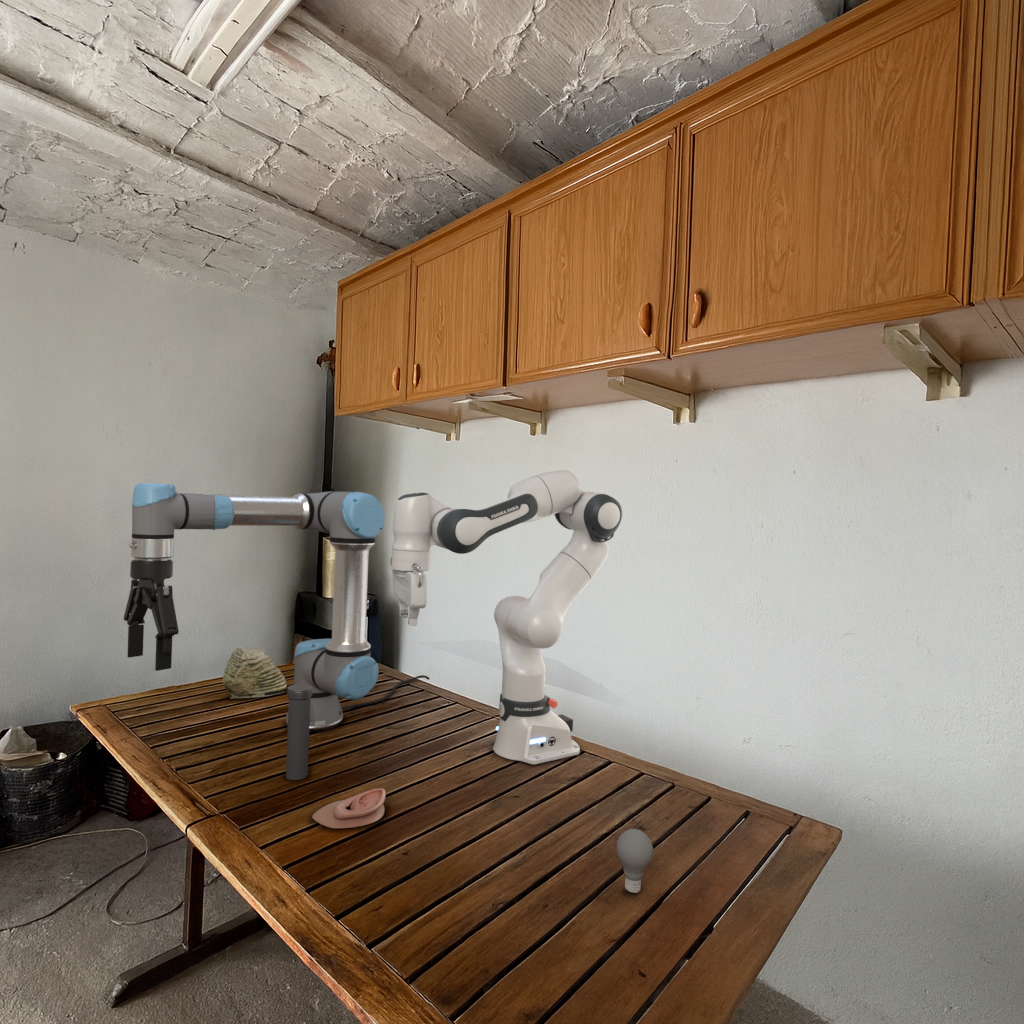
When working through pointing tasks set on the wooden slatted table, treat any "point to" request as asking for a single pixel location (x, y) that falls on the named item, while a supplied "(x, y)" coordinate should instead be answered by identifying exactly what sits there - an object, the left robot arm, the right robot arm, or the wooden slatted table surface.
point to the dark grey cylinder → (298, 739)
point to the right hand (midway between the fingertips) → (407, 621)
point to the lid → (299, 691)
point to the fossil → (252, 674)
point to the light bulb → (634, 857)
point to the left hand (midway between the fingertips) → (148, 662)
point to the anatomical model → (353, 810)
